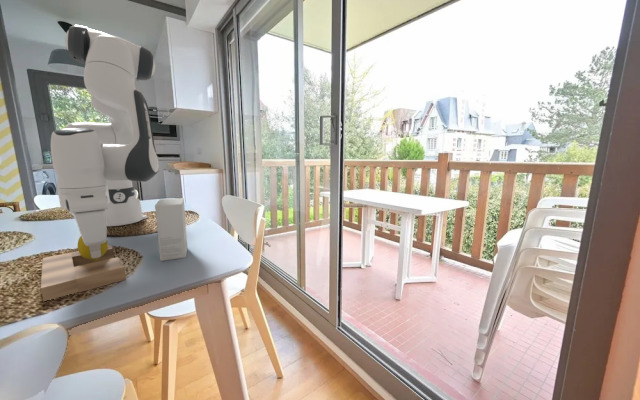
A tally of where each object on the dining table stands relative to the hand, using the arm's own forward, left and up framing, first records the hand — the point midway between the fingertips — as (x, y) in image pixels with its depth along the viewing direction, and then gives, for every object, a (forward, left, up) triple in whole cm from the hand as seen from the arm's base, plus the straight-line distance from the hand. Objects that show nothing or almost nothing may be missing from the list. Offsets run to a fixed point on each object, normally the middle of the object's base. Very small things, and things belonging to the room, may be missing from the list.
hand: (94, 252), depth 64 cm
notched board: (+2, -3, -4) cm, 5 cm away
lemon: (0, 0, -2) cm, 2 cm away
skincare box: (+4, +17, -4) cm, 18 cm away
